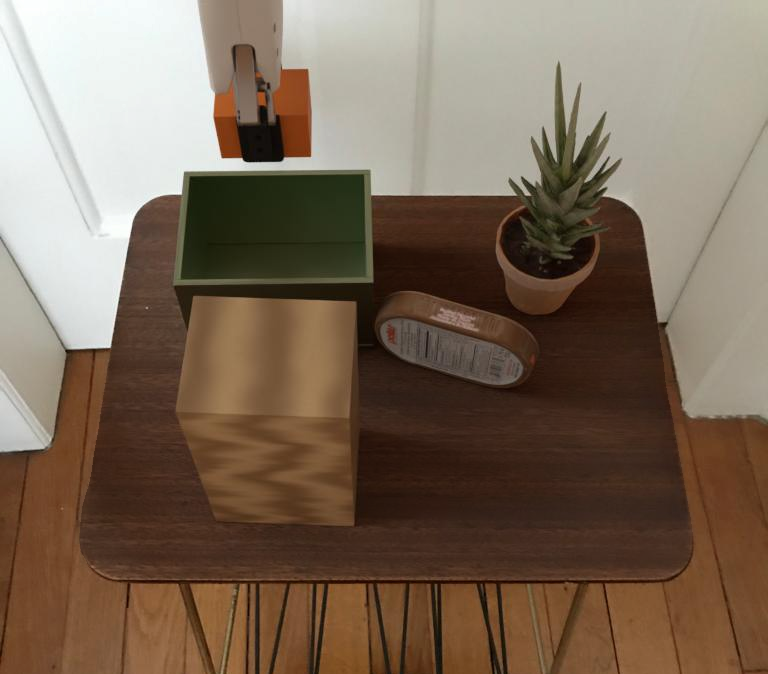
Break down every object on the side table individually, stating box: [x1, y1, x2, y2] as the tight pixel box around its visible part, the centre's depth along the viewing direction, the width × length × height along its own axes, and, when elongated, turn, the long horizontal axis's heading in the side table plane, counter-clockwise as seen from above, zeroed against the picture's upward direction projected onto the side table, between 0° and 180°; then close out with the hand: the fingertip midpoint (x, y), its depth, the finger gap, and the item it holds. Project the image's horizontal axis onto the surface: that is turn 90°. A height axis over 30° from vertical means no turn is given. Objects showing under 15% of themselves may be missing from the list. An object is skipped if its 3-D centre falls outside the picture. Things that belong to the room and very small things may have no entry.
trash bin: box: [172, 169, 375, 349], centre depth 84 cm, size 13×17×10 cm
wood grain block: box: [174, 296, 361, 527], centre depth 72 cm, size 12×10×18 cm
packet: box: [212, 68, 313, 159], centre depth 69 cm, size 7×5×4 cm
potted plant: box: [495, 60, 623, 316], centre depth 78 cm, size 10×10×25 cm
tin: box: [374, 290, 540, 389], centre depth 81 cm, size 15×3×8 cm, turn 71°
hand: (264, 130), depth 71 cm, fingers closed on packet, 5 cm apart
